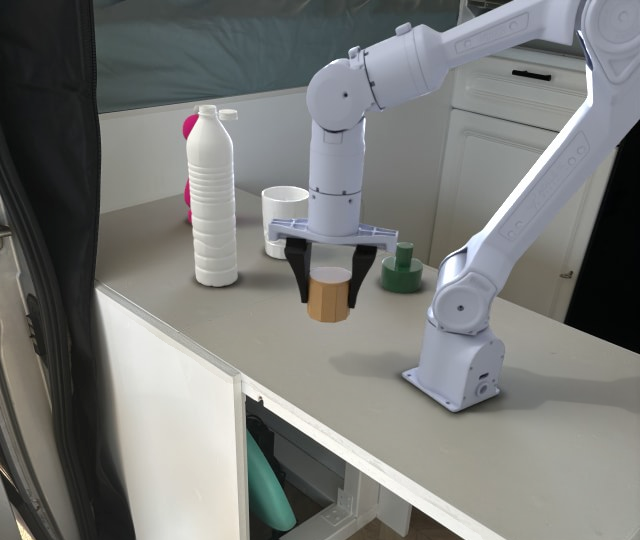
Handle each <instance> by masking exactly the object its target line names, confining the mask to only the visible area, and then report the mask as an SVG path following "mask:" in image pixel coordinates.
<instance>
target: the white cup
mask: <svg viewBox="0 0 640 540" xmlns="http://www.w3.org/2000/svg"><path fill="white" fill-rule="evenodd" d="M308 207H309V190H306V189H304V188H302V187H296V186H290V185H289V186H288V185H279V186H271V187H267V188H265V189H262V191H261V208H262V224H263V237H264V248H265V249H264V250H265V253H266V255H268V256H269V257H271V258H275V259H279V260H287V259H286V257H285V254H284V248H285V247H286V240H283V239H278V241H271V240H268V224H269V222H270V221H271V219H272V218H276V219H308Z"/></svg>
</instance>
